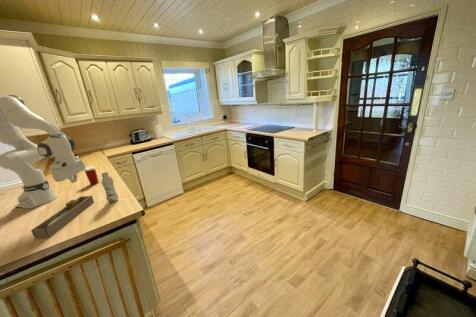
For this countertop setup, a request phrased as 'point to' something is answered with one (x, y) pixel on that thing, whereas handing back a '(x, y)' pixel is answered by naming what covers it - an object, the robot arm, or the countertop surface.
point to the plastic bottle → (109, 187)
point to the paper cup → (91, 175)
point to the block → (72, 204)
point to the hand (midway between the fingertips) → (74, 182)
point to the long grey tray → (61, 219)
